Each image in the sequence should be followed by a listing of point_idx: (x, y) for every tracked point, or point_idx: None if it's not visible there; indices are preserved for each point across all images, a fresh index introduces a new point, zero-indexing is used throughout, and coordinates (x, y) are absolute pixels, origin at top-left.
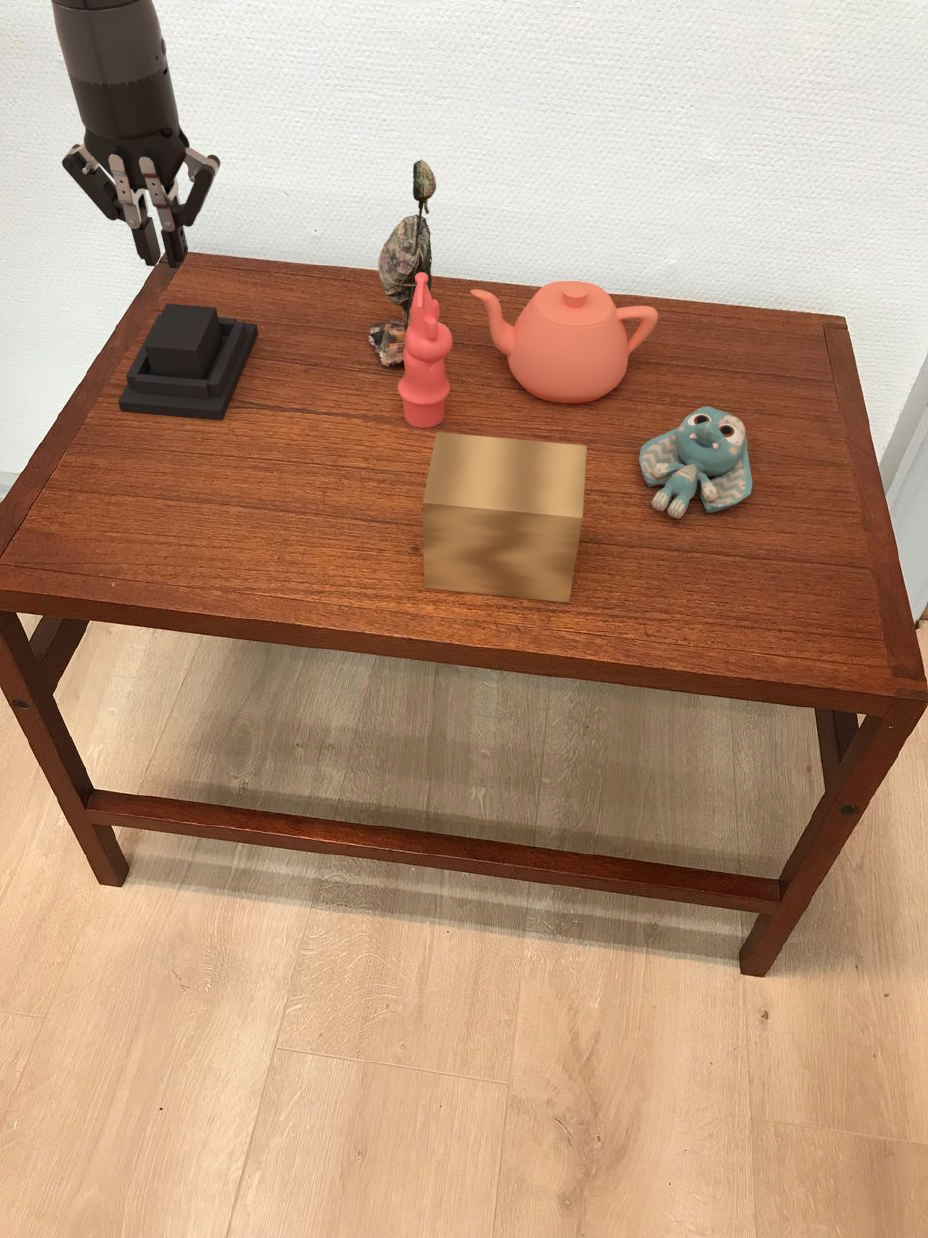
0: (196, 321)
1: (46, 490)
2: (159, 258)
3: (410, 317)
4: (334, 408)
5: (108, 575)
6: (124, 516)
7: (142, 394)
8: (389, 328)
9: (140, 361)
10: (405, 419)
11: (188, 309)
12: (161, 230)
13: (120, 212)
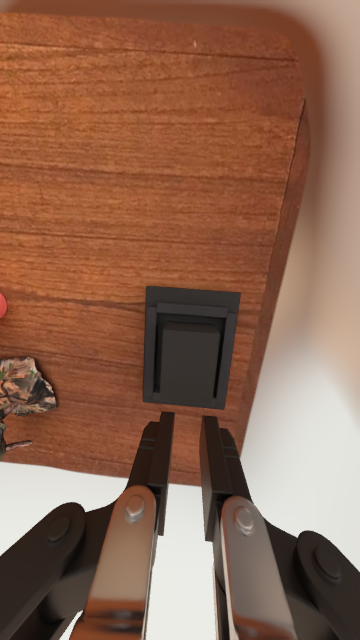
0: (174, 377)
1: (284, 178)
2: (200, 437)
3: (4, 405)
4: (62, 307)
5: (202, 57)
6: (205, 147)
7: (220, 303)
8: (19, 391)
9: (227, 336)
10: (2, 295)
11: (186, 395)
12: (165, 490)
13: (292, 567)
